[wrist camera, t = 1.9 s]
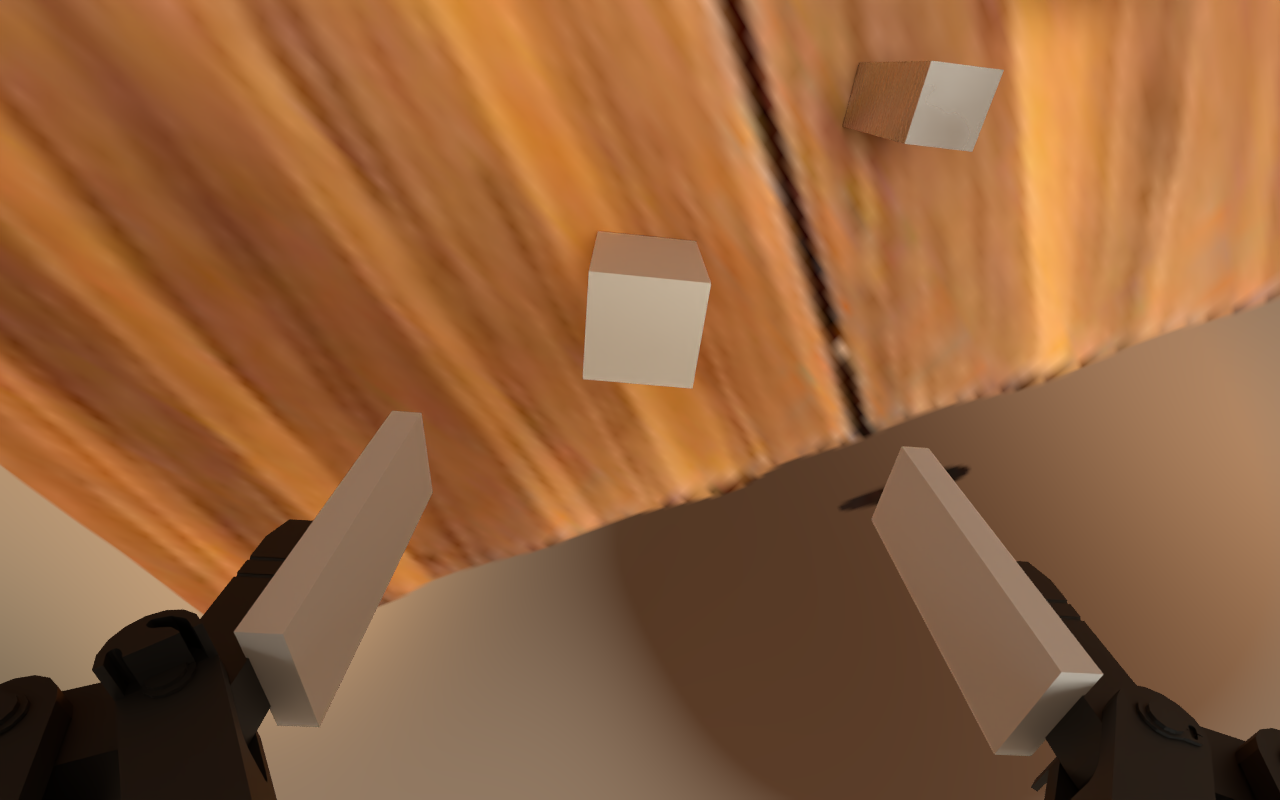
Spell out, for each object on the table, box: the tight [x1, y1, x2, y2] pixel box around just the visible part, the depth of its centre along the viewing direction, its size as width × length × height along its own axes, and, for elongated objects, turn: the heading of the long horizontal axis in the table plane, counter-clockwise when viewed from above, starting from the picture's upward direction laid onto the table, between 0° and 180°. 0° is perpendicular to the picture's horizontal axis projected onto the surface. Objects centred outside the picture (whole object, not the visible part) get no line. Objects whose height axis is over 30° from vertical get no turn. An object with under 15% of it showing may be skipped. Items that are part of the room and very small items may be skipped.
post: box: [843, 61, 1004, 152], centre depth 22 cm, size 3×3×7 cm
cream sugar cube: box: [583, 231, 711, 389], centre depth 27 cm, size 5×5×7 cm
